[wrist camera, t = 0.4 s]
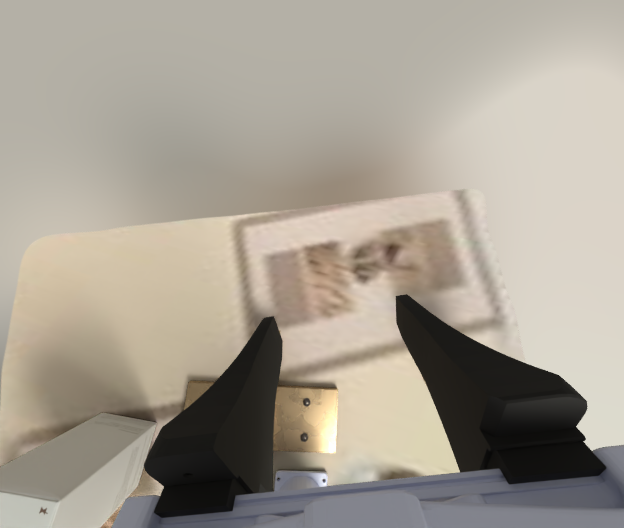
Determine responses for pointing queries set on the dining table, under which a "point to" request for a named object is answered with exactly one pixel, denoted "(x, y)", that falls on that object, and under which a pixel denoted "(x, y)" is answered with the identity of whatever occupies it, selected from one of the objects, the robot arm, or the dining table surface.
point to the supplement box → (76, 475)
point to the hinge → (295, 416)
